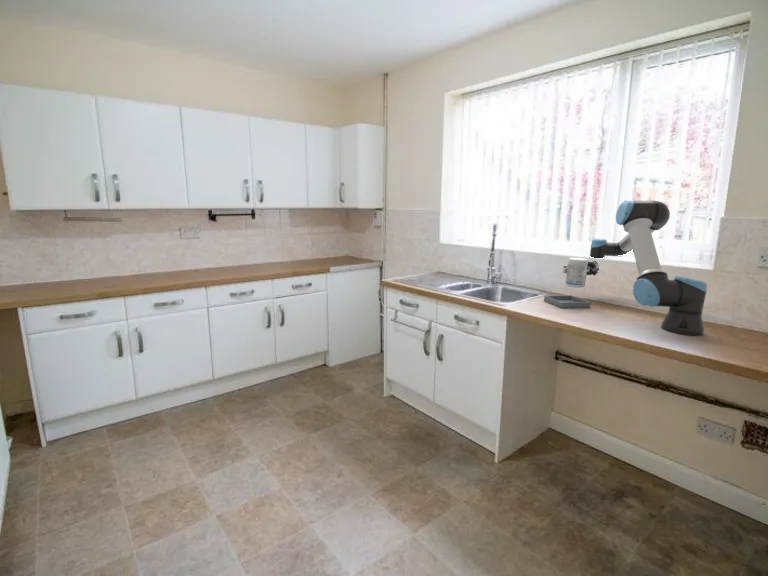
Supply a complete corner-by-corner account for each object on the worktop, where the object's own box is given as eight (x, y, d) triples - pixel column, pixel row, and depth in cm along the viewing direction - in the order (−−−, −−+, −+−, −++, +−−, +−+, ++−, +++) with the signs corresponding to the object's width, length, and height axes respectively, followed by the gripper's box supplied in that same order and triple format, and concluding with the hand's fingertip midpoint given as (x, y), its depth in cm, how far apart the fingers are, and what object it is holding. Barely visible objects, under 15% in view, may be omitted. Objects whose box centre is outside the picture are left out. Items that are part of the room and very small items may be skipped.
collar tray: (589, 307, 217) (590, 302, 216) (561, 308, 214) (561, 302, 213) (570, 300, 233) (571, 295, 232) (543, 300, 230) (544, 295, 229)
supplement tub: (570, 283, 225) (574, 257, 222) (588, 286, 218) (591, 259, 215) (561, 285, 219) (564, 258, 216) (579, 288, 212) (582, 260, 209)
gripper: (609, 277, 222) (594, 282, 207) (568, 271, 237) (551, 276, 222) (611, 263, 220) (596, 267, 205) (570, 258, 236) (553, 262, 220)
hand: (573, 272), depth 214 cm, fingers closed on supplement tub, 9 cm apart
